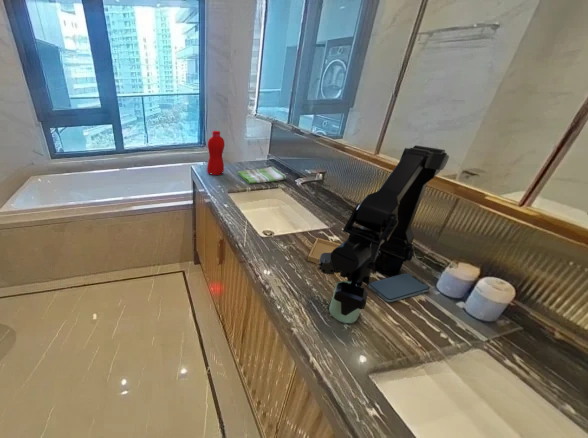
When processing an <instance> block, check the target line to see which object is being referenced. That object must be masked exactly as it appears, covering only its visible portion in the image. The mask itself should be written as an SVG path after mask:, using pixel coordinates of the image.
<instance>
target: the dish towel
mask: <svg viewBox="0 0 588 438" xmlns="http://www.w3.org/2000/svg"><path fill="white" fill-rule="evenodd" d="M237 174H238V175H239V177H241V178H242V179H243V180H244V182H246V183H247V184H248V185H251V184H253V185H254V184H263V183H273V182H279V181H285V180H287V176H286V174H284V173H283V172H281V171H280V170H278V169H277V168H275V166H269V167H264V168H257V169H246V170H239V171H238V173H237Z"/></svg>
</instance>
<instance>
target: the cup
mask: <svg viewBox="0 0 588 438" xmlns="http://www.w3.org/2000/svg"><path fill="white" fill-rule="evenodd" d="M341 282H345V283H348V284H351V282H350V281H347V280H341V281H337V282H336V284H335V287H334V289H333V293H332V297H331V301H330V304H329V308H328V311H329V313H330V315H331V316H332V317H333V318H334V319H335V320H337V321H338V322H341V323H344V324H352V323H355V322H356V321H357V320H358V318H359V316H360V313H361V310H362V309H359V308H358V309H356V310H354V311H353V312H351V313H349V314H348V315H346V316H345V315H342V314H341V302H339V301H336V300H335V299H334V295H335V292H336V288H337V285H338V283H341ZM356 286H357V284H356ZM361 288H363V286H362V287H361Z"/></svg>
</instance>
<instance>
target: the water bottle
mask: <svg viewBox="0 0 588 438" xmlns="http://www.w3.org/2000/svg"><path fill="white" fill-rule="evenodd" d="M211 135H212V136H211V137H210V138H209V139H208V141H207V146H206V147H207V150H208V154H209V155H208V157H209V158H208V162H207V166H206V167H207V169H206V172H207V174H208V175H213V176H220V175H221V176H222V174H223V173H224V172H225V171H224V170H225V169H224V168H225V164H224V159H223V153H224V149H225V140H224V137H222V136H221V131H219V130H212V134H211ZM222 172H223V173H222ZM210 173H212V174H210ZM220 173H221V174H220Z"/></svg>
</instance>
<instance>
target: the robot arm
mask: <svg viewBox="0 0 588 438" xmlns="http://www.w3.org/2000/svg"><path fill="white" fill-rule="evenodd" d="M449 159H450V155H448V153H447V152H446V149H442V148H437V147H431V146H430V147H429V146H423V145H417V144H416V145H414V146H413V147H409V148H408V147H405V148H404V149H403V152H402V153H401V156H400V159H399V161H398V163H397V164H396V166H395V167H394V168H393V170H392V171H391V172H390V174H389V175H388V177H387V178H386V180H385V181H383V184H382V185H381V187H379V189H378V190H377V191H375V192H371V193H369V194H367V195H366V196H365V197H364V198H363V199H362V201H361V202H359V203H357V205H356V206H354V209H353V210H352V213H351V214H350V216H349V219H347V222H346V224H345V226H344V227H343V229H342V232H343V233H346V234H348V237H347V239H346V240H345V241H344V242H342V243H340V244H341V245H339V246H338V247H337V248H335V249H334V250H333V251H332V252H331V253H323V254H321V257H320V259H319V264H318V265H319V266H318V270H319V271H320V272H321V273H322V274H323V275H334V274H339V273H340V274H339V277H341V278H344V279H345V278H346V281H350V282H351V284H348V283H345V282H341V283H338V282H337V283H338V285H337V288H336V292H335V295H334V299H335V300H336V301H339V302H341V314H342V315H345V316H346V315H348V314H349V313H351V312H353V311H354V310H356V309H358V308H359V309H361V310H364V309H365V308H366V304H367V301H368V292H367V290H366V289H365V288H364V287H363V283H365V284H368V285H369V283H370V279H371V274H372V271H373V270H374V272H378V273H381V274H385V275H387V276H388V275H389V276H390V277H393V276H397V275H400V271H401V269H402V266H403V264H404V263H407V262H411V261H412V259H413V257H414V254H415V244H414V243H413V241H414V239H415V235H414V232H413V230H412V225H413V222H414V220H415V218H416V215H417V212H418V209H419V207H420V204H421V202H422V198H423V195H424V194H425V191H426V187H427V185H428V183H429V182H430V181H431V180H433V179H434V178H435V177H436V176H437V175H438V174H440V172H441V171H443V170H445V167H446V165H447V164H448V161H449ZM354 224H356V225H358V226H356V225H354ZM359 226H360V227H359ZM356 284H357V286H356ZM361 287H362V288H361Z"/></svg>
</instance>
